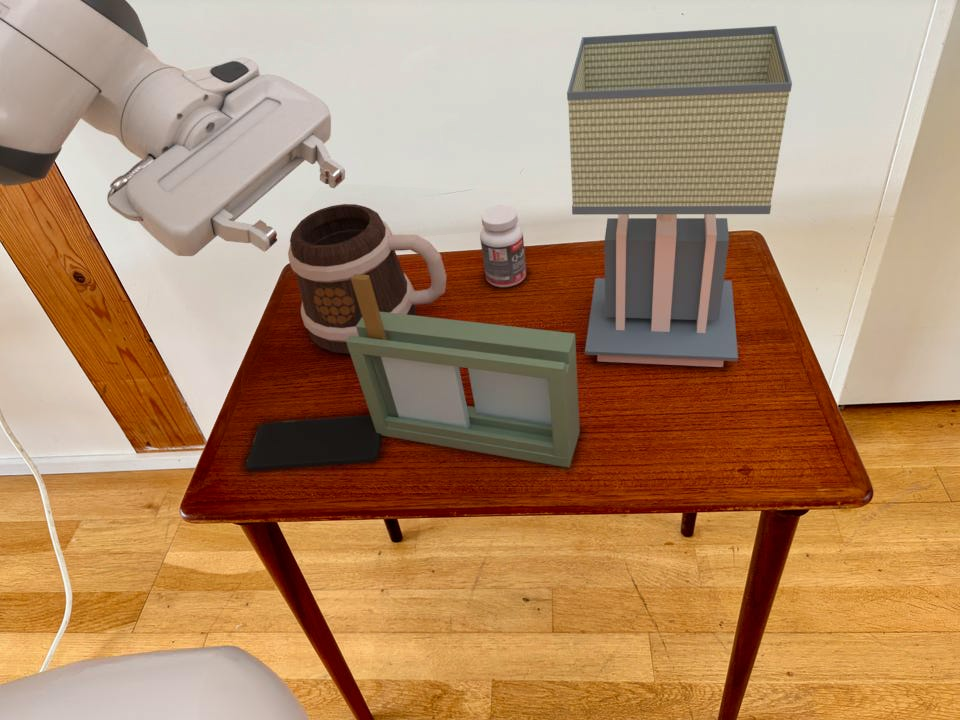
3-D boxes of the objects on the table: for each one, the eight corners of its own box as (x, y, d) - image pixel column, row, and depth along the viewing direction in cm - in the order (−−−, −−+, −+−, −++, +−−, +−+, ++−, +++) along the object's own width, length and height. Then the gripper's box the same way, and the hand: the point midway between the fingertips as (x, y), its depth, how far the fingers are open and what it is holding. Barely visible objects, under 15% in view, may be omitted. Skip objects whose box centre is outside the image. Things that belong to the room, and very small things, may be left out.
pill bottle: (523, 289, 96) (517, 226, 89) (482, 288, 97) (473, 226, 91) (529, 264, 100) (523, 202, 94) (489, 264, 101) (481, 203, 95)
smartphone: (258, 422, 83) (384, 412, 82) (261, 427, 84) (386, 417, 82) (243, 468, 78) (377, 458, 76) (245, 473, 78) (378, 463, 77)
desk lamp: (736, 296, 89) (775, 24, 68) (743, 374, 79) (792, 84, 58) (589, 293, 94) (582, 36, 72) (578, 366, 84) (566, 94, 62)
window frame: (569, 468, 73) (563, 369, 64) (376, 434, 80) (345, 341, 70) (579, 432, 76) (575, 333, 67) (394, 403, 83) (366, 309, 74)
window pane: (467, 432, 76) (438, 287, 63) (390, 419, 79) (347, 278, 66) (470, 425, 77) (442, 281, 64) (394, 413, 79) (352, 272, 67)
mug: (294, 360, 91) (255, 264, 81) (324, 289, 102) (292, 196, 92) (446, 356, 88) (425, 255, 78) (460, 283, 99) (443, 186, 89)
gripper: (83, 170, 57) (219, 262, 55) (257, 47, 67) (377, 122, 65) (104, 220, 62) (229, 305, 61) (262, 100, 72) (372, 170, 71)
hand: (307, 209), depth 63 cm, fingers open, 8 cm apart
